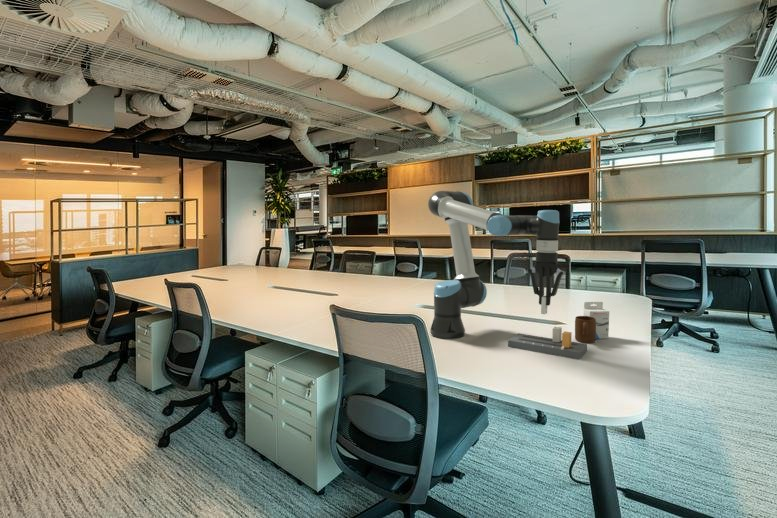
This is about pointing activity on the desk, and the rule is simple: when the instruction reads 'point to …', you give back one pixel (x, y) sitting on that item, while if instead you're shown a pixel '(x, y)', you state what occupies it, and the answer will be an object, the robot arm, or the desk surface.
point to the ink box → (598, 318)
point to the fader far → (557, 334)
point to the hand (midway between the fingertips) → (544, 313)
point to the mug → (585, 329)
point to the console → (547, 346)
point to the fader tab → (566, 339)
